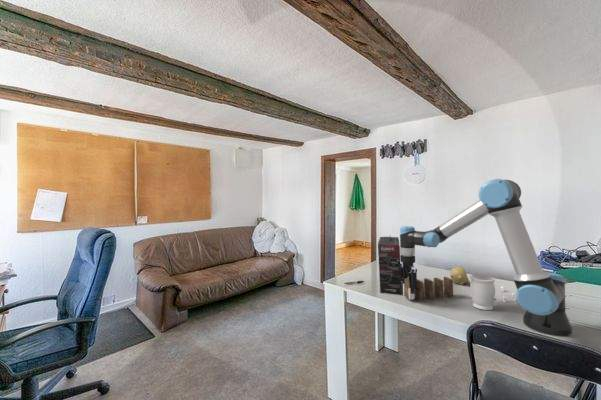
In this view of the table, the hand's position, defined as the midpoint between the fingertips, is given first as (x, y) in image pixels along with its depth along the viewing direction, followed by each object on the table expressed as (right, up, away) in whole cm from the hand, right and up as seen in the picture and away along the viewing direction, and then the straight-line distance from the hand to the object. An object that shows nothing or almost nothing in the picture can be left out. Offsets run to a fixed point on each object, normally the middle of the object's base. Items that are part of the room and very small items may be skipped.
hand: (408, 297), depth 147 cm
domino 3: (+12, -1, +2) cm, 12 cm away
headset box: (-3, -1, +21) cm, 21 cm away
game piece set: (+51, 0, +3) cm, 51 cm away
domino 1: (0, 0, 0) cm, 0 cm away
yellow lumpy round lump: (+42, 0, +24) cm, 48 cm away
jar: (+32, -1, -12) cm, 35 cm away
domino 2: (+6, -1, +1) cm, 6 cm away
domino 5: (+24, -1, +4) cm, 24 cm away
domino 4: (+18, -1, +3) cm, 18 cm away
